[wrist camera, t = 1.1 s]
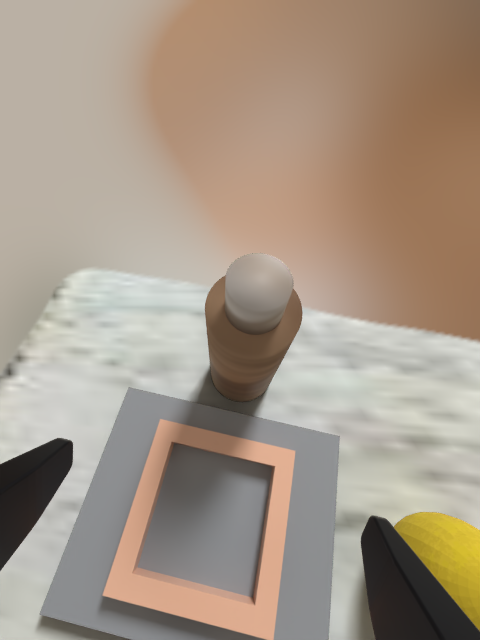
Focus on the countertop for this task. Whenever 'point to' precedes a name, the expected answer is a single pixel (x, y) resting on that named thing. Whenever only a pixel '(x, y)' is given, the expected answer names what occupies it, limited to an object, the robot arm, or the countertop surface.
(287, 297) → the pepper mill
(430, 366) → the countertop surface
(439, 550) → the lemon
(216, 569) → the display stand
